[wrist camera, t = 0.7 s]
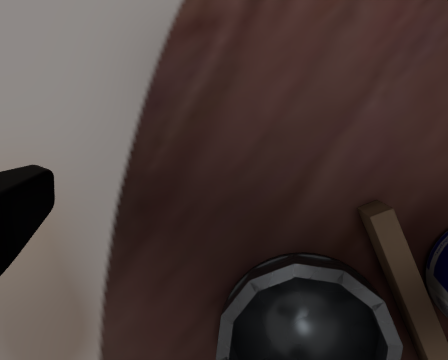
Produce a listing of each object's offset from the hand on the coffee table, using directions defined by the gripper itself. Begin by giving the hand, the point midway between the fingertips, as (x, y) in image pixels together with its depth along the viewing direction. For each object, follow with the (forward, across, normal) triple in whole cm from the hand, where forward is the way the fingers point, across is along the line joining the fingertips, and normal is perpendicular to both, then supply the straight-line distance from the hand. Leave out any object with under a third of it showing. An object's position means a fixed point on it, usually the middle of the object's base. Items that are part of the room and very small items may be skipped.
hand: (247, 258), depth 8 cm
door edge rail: (+10, -8, +8) cm, 15 cm away
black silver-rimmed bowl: (+8, -4, +11) cm, 14 cm away
